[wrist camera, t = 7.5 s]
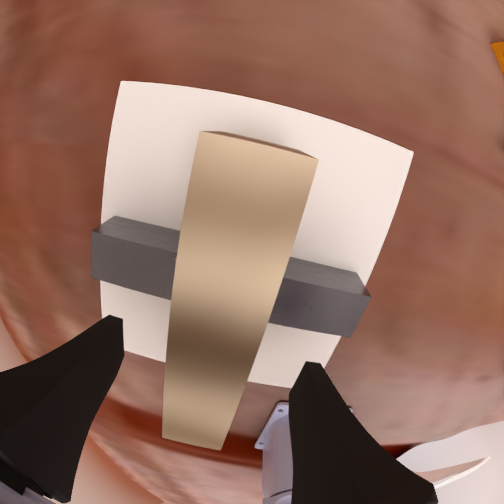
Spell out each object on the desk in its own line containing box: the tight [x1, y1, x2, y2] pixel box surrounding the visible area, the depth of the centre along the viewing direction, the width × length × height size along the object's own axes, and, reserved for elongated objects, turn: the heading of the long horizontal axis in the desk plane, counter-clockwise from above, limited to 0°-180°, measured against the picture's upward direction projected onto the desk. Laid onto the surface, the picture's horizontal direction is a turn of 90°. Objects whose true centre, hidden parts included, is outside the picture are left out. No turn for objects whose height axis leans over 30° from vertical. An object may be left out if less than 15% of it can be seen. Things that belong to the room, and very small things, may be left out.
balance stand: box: [91, 81, 414, 388], centre depth 17 cm, size 20×18×4 cm
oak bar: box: [162, 131, 319, 450], centre depth 13 cm, size 16×4×5 cm, turn 166°
